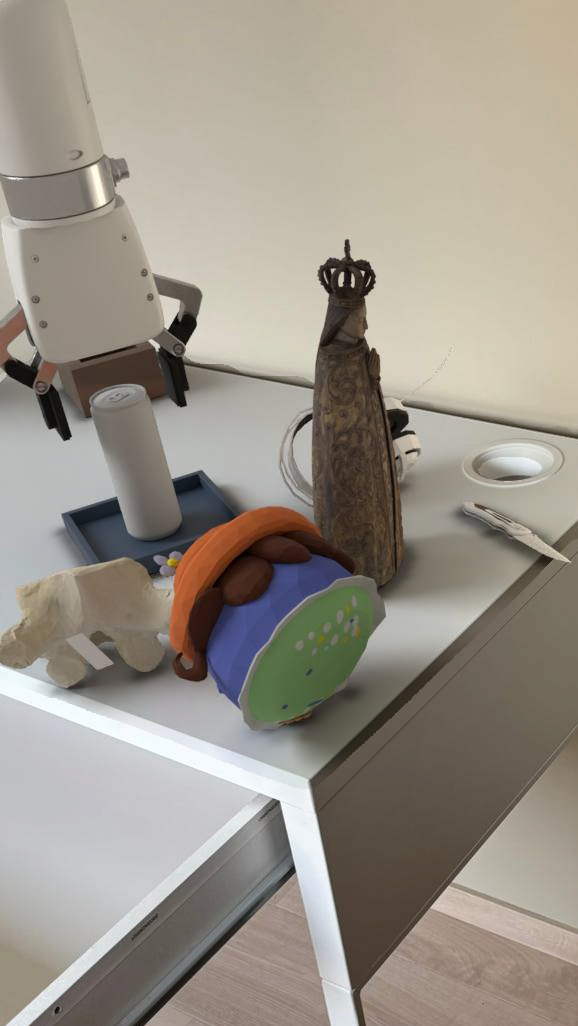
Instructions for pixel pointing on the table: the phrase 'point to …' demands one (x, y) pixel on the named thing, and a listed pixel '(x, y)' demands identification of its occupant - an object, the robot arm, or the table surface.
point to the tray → (108, 540)
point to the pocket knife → (510, 529)
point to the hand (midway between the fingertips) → (121, 417)
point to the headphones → (403, 441)
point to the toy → (266, 615)
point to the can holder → (112, 373)
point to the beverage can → (136, 461)
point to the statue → (353, 432)
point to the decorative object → (89, 619)
